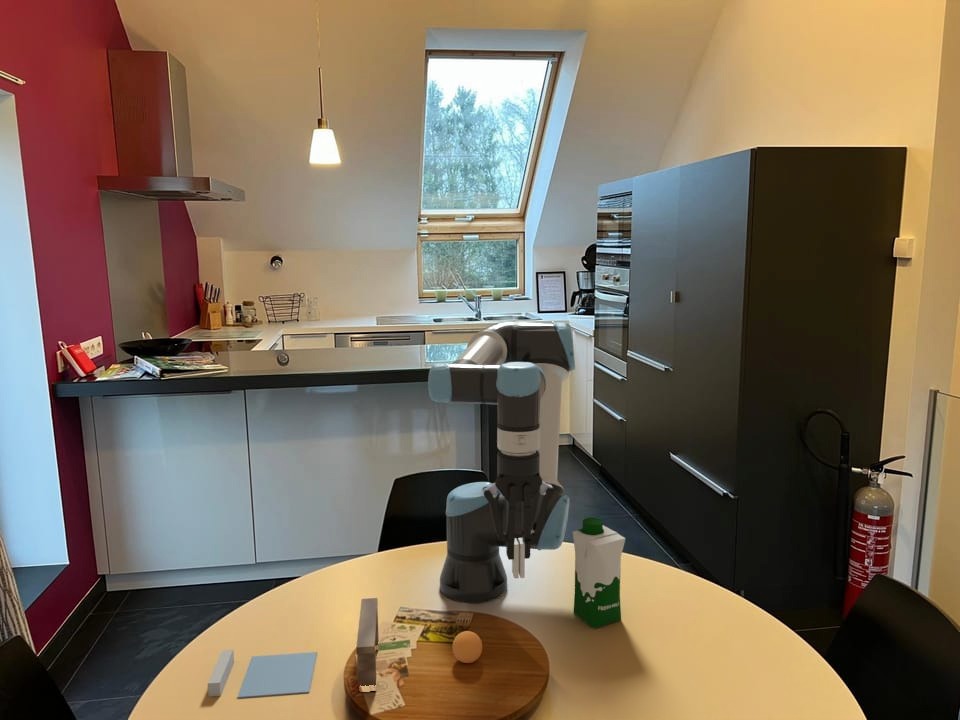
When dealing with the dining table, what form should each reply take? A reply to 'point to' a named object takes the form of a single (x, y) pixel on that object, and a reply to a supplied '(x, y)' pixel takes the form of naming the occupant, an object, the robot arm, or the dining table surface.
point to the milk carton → (597, 573)
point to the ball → (467, 647)
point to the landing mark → (278, 675)
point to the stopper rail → (221, 673)
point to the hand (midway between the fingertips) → (518, 574)
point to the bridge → (367, 642)
